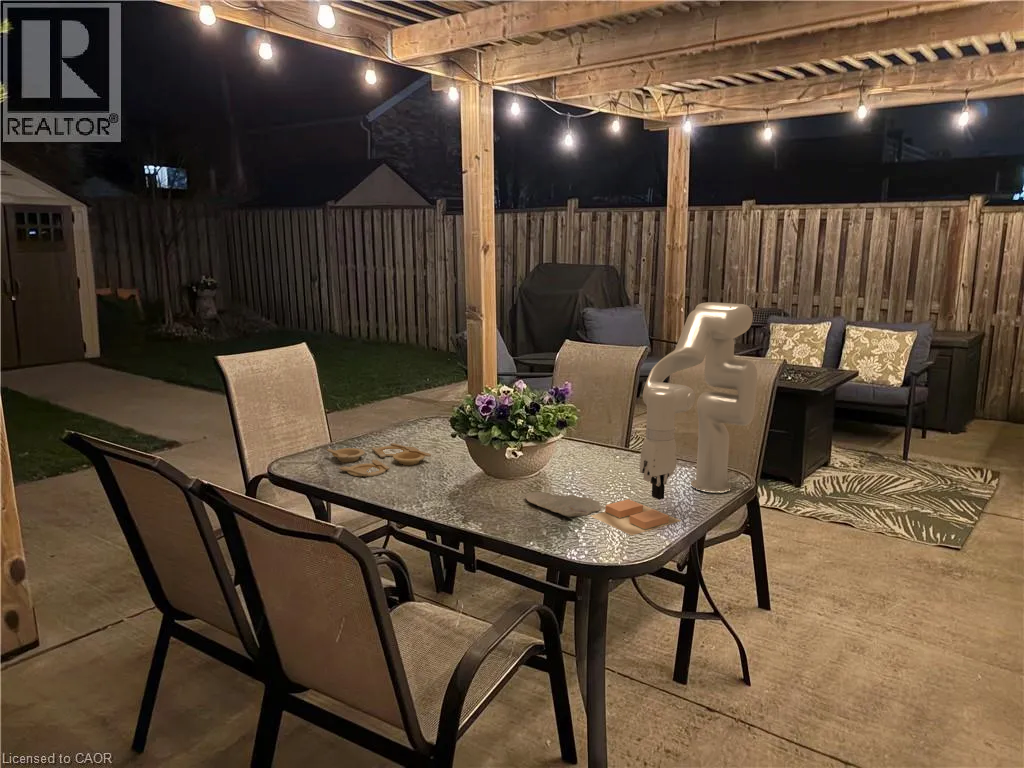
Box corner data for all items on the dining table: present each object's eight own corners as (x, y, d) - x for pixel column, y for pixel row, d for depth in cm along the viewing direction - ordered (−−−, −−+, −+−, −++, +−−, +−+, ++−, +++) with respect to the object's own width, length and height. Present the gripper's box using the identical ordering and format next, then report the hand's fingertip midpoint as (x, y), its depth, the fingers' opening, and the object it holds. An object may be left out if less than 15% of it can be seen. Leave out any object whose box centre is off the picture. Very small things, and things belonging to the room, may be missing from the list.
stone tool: (612, 509, 215) (541, 491, 228) (613, 498, 214) (542, 481, 228) (582, 527, 199) (507, 506, 212) (583, 515, 198) (508, 495, 212)
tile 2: (653, 509, 202) (629, 515, 197) (668, 515, 197) (645, 522, 192) (652, 517, 203) (629, 523, 198) (668, 523, 198) (644, 530, 193)
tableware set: (353, 482, 236) (353, 470, 236) (316, 461, 259) (316, 450, 258) (442, 463, 258) (442, 452, 257) (401, 445, 280) (401, 435, 280)
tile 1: (628, 499, 210) (605, 505, 205) (642, 505, 205) (619, 511, 200) (628, 506, 211) (605, 512, 206) (642, 512, 206) (619, 519, 201)
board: (638, 506, 214) (638, 503, 214) (681, 524, 200) (681, 520, 200) (589, 519, 203) (589, 515, 203) (631, 538, 190) (631, 535, 189)
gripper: (669, 426, 202) (667, 488, 206) (630, 435, 194) (628, 499, 197) (689, 432, 196) (686, 496, 200) (650, 441, 188) (648, 507, 191)
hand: (657, 497), depth 198 cm, fingers closed
